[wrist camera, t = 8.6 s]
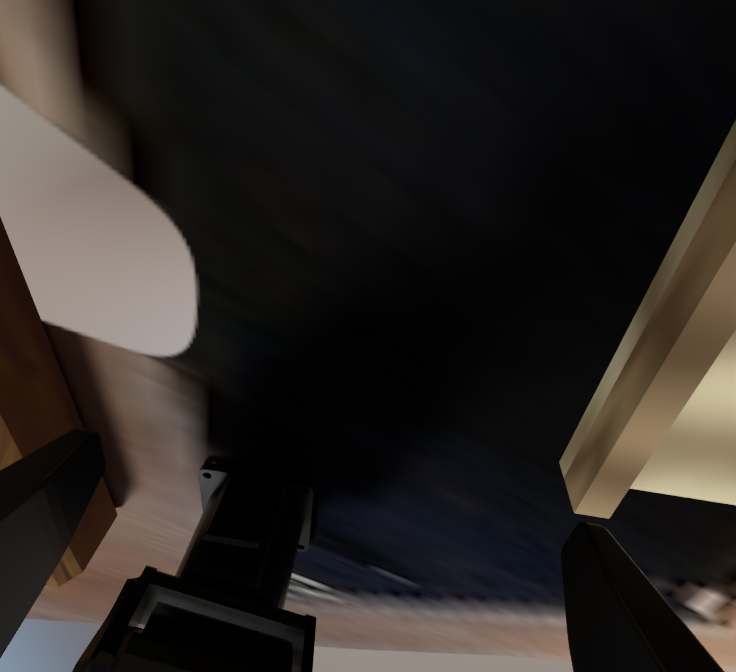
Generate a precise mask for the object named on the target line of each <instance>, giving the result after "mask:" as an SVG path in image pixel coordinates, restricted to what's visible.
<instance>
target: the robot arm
mask: <svg viewBox="0 0 736 672" xmlns="http://www.w3.org/2000/svg"><path fill="white" fill-rule="evenodd" d="M104 470H105V457H104V452H103V448H102V443H101V438H100V435H99V434H98V433H97V432H94V431H88V430H83V429H73V430H71V431H69V432H67V433H65V434H63V435H62V436H60V437H58V438H56V439H55V440H53V441H51V442H49V443H47V444H46V445H44V446H42V447H40V448H39V449H37V450H35V451H33V452H32V453H30V454H28V455H26V456H25V457H23V458H21V459H19V460H18V461H16V462H14V463H12V464H11V465H9V466H7V467H5V468H4V469H2V470H0V658H1V656H2V654H3V653H4V651H5V649H6V648H7V646H8V645H9V643H10V641H11V640H12V638H13V637H14V635H15V633H16V631H17V630H18V628H19V627H20V625H21V624H22V622H23V620H24V619H25V617H26V615H27V614H28V612H29V611H30V609H31V607H32V606H33V604H34V602H35V601H36V599H37V598H38V596H39V594H40V593H41V591H42V589H43V588H44V586H45V585H46V583H47V581H48V580H49V578H50V576H51V575H52V573H53V572H54V570H55V568H56V567H57V565H58V563H59V562H60V560H61V558H62V556H63V555H64V553H65V551H66V549H67V547H68V545H69V543H70V542H71V540H72V538H73V535H74V533H75V531H76V529H77V527H78V525H79V523H80V521H81V519H82V517H83V515H84V513H85V511H86V508H87V506H88V504H89V502H90V500H91V498H92V496H93V494H94V492H95V490H96V488H97V486H98V484H99V482H100V479H101V477H102V475H103V473H104ZM198 475H199V483H200V491H201V499H202V507H203V514H202V516H201V519H200V521H199V523H198V525H197V528H196V530H195V532H194V534H193V537H192V539H191V541H190V544H189V546H188V548H187V550H186V553H185V555H184V557H183V559H182V562H181V564H180V566H179V568H178V571H177V573H176V575H175V576H173V575H169V574H166V573H163V572H160V571H157V568H154V567H151V566H147V565H146V567H145V569H144V571H143V572H142V574H141V576H140V577H139V578H133V579H127V581H126V583H125V585H124V587H123V589H122V591H121V593H120V594H119V596H118V598H117V600H116V602H115V604H114V606H113V608H112V609H111V611H110V613H109V615H108V616H107V618H106V619H105V621H104V623H103V624H102V626H101V627H100V629H99V630H98V632H97V633H96V635H95V636H94V638H93V639H92V641H91V642H90V644H89V645H88V647H87V648H86V650H85V651H84V653H83V654H82V656H81V657H80V659H79V660H78V662H77V664H76V665H75V668H74V669H73V671H72V672H312V668H313V655H314V642H315V629H316V617H313V616H310V615H307V614H306V615H305V616H303V615H300V614H296V613H293V612H290V611H287V610H283V608H284V604H285V600H286V595H287V591H288V587H289V583H290V579H291V574H292V570H293V566H294V562H295V557H296V553H297V551H299V552H305V551H307V550H308V549H309V544H310V535H311V524H312V512H313V501H314V489H315V486H314V484H313V482H311V481H310V480H306V479H300V478H293V477H287V476H281V475H275V474H268V473H262V472H256V471H250V470H244V469H237V468H231V467H225V466H219V465H212V464H204V465H202V466H201V468H200V470H199V473H198ZM561 564H562V576H563V587H564V599H565V611H566V623H567V633H568V642H569V649H570V655H571V661H572V666H573V671H574V672H724V671H723V669H722V668H721V667H720V666H719V665H718V663H717V662H716V661H715V660H714V659H713V657H712V656H711V655H710V654H709V652H708V651H707V650H706V649H705V648H704V646H703V645H702V644H701V643H700V642H699V640H698V639H697V638H696V637H695V636H694V634H693V633H692V632H691V631H690V629H689V628H688V627H687V626H686V625H685V623H684V622H683V621H682V620H681V619H680V617H679V616H678V615H677V614H676V612H675V611H674V610H673V609H672V608H671V606H670V605H669V604H668V603H667V602H666V600H665V599H664V598H663V597H662V596H661V594H660V593H659V592H658V591H657V589H656V588H655V587H654V586H653V585H652V583H651V582H650V581H649V580H648V579H647V577H646V576H645V575H644V574H643V572H642V571H641V570H640V569H639V568H638V566H637V565H636V564H635V563H634V562H633V560H632V559H631V558H630V557H629V556H628V554H627V553H626V552H625V551H624V549H623V548H622V547H621V546H620V545H619V543H618V542H617V541H616V540H615V539H614V537H613V536H612V535H611V534H610V532H609V531H608V530H607V529H606V528H605V527H603V526H601V525H598V524H592V523H587V522H581V523H579V524H578V525H577V526H576V528H575V529H574V530H573V532H572V533H571V535H570V536H569V538H568V539H567V541H566V542H565V544H564V546H563V548H562V552H561ZM139 623H140V624H143V625H146V626H145V628H144V629H142V628H138V625H139Z"/></svg>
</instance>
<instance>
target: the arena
mask: <svg viewBox="0 0 736 672" xmlns="http://www.w3.org/2000/svg"><path fill="white" fill-rule="evenodd" d="M559 463H560V466H561V470H562V473H563V476H564V480H565V483H566V487H567V490H568V494H569V497H570V501H571V504H572V507H573V511H574V513H577V514H583V515H589V516H595V517H602V518H608V519H609V518H610V517H611V515H612V514H613V512H614V511H615V509H616V508H617V506H618V505H619V503H620V502H621V500H622V499H623V497H624V496H625V494H626V493H627V491H628V490H629V488H631V489H637V490H643V491H650V492H656V493H662V494H668V495H675V496H681V497H687V498H694V499H700V500H706V501H712V502H719V503H725V504H731V505H736V120H735V122H734V124H733V126H732V128H731V130H730V132H729V134H728V135H727V137H726V139H725V141H724V143H723V145H722V147H721V149H720V151H719V153H718V155H717V157H716V159H715V161H714V163H713V165H712V167H711V169H710V170H709V172H708V174H707V176H706V178H705V180H704V182H703V184H702V186H701V188H700V190H699V192H698V194H697V196H696V198H695V200H694V202H693V203H692V205H691V207H690V209H689V211H688V213H687V215H686V217H685V219H684V221H683V223H682V225H681V227H680V229H679V231H678V233H677V235H676V236H675V238H674V240H673V242H672V244H671V246H670V248H669V250H668V252H667V254H666V256H665V258H664V260H663V262H662V264H661V266H660V268H659V269H658V271H657V273H656V275H655V277H654V279H653V281H652V283H651V285H650V287H649V289H648V291H647V293H646V295H645V297H644V299H643V301H642V302H641V304H640V306H639V308H638V310H637V312H636V314H635V316H634V318H633V320H632V322H631V324H630V326H629V328H628V330H627V332H626V334H625V335H624V337H623V339H622V341H621V343H620V345H619V347H618V349H617V351H616V353H615V355H614V357H613V359H612V361H611V363H610V365H609V367H608V369H607V370H606V372H605V374H604V376H603V378H602V380H601V382H600V384H599V386H598V388H597V390H596V392H595V394H594V396H593V398H592V400H591V402H590V403H589V405H588V407H587V409H586V411H585V413H584V415H583V417H582V419H581V421H580V423H579V425H578V427H577V429H576V431H575V433H574V435H573V436H572V438H571V440H570V442H569V444H568V446H567V448H566V450H565V452H564V454H563V456H562V458H561V460H560V462H559Z"/></svg>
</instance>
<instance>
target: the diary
mask: <svg viewBox="0 0 736 672" xmlns="http://www.w3.org/2000/svg"><path fill="white" fill-rule="evenodd" d="M73 429H83V430H84V428H83V426H82V423H81V421H80V418H79V416H78V413H77V411H76V408H75V405H74V403H73V400H72V398H71V395H70V393H69V390H68V388H67V385H66V383H65V380H64V378H63V375H62V373H61V370H60V368H59V365H58V362H57V360H56V357H55V355H54V352H53V350H52V347H51V345H50V342H49V340H48V337H47V335H46V332H45V330H44V327H43V325H42V322H41V319H40V316H39V313H38V311H37V308H36V306H35V303H34V301H33V298H32V296H31V293H30V291H29V288H28V286H27V283H26V281H25V278H24V276H23V273H22V270H21V268H20V265H19V263H18V260H17V258H16V255H15V253H14V250H13V248H12V245H11V242H10V240H9V237H8V235H7V233H6V230H5V227H4V225H3V222H2V220H1V217H0V470H2V469H4V468H5V467H7V466H9V465H11V464H12V463H14V462H16V461H18V460H19V459H21V458H23V457H25V456H26V455H28V454H30V453H32V452H33V451H35V450H37V449H39V448H40V447H42V446H44V445H46V444H47V443H49V442H51V441H53V440H55V439H56V438H58V437H60V436H62V435H63V434H65V433H67V432H69V431H71V430H73ZM116 517H117V512H116V509H115V507H114V504H113V502H112V499H111V496H110V494H109V491H108V489H107V486H106V484H105V481H104V479H103V476H102V477H101V479H100V482H99V484H98V486H97V488H96V490H95V492H94V494H93V496H92V498H91V500H90V502H89V504H88V506H87V508H86V511H85V513H84V515H83V517H82V519H81V521H80V523H79V525H78V527H77V529H76V531H75V533H74V535H73V538H72V540H71V542H70V543H69V545H68V547H67V549H66V551H65V553H64V555H63V556H62V558H61V560H60V562H59V563H58V565H57V567H56V568H55V570H54V572H53V573H52V575H51V576H50V578H49V580H48V581H47V583H46V585H51V586H61V585H62V584H64V583H66V582H67V581H69V580H71V579H72V578H74V577H76V576H78V575H79V574H81V573H83V571H84V569H85V568H86V566H87V564H88V563H89V561H90V560H91V558H92V556H93V555H94V553H95V551H96V550H97V548H98V546H99V545H100V543H101V541H102V540H103V538H104V536H105V535H106V533H107V532H108V530H109V528H110V527H111V525H112V523H113V522H114V520H115V518H116Z"/></svg>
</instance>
